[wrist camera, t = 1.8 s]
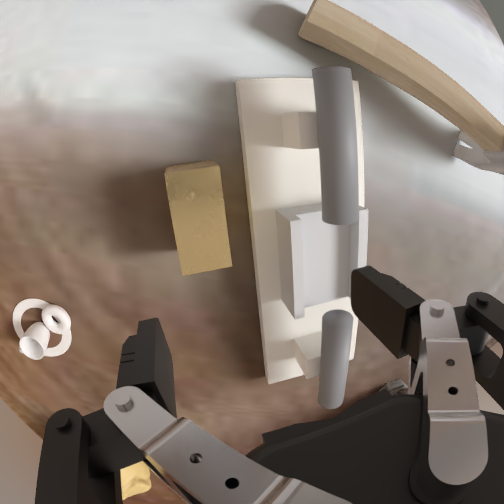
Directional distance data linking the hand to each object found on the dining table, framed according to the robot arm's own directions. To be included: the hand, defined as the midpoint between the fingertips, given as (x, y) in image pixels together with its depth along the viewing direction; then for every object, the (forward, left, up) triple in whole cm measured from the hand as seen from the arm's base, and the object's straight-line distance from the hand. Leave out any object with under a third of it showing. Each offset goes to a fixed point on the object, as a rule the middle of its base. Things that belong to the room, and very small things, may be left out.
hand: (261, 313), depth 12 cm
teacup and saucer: (-19, -12, -19) cm, 29 cm away
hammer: (+23, +11, -19) cm, 32 cm away
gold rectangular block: (-1, +1, -19) cm, 19 cm away
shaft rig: (+10, -5, -18) cm, 21 cm away
